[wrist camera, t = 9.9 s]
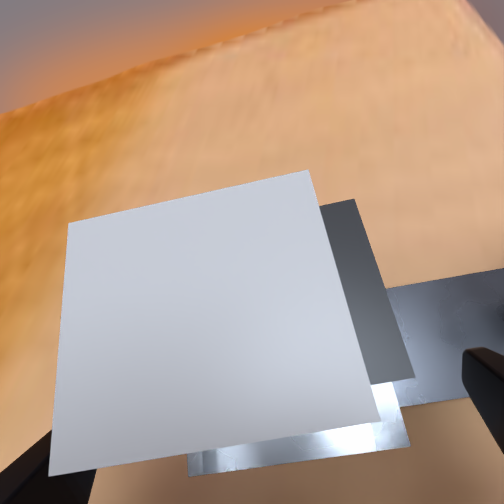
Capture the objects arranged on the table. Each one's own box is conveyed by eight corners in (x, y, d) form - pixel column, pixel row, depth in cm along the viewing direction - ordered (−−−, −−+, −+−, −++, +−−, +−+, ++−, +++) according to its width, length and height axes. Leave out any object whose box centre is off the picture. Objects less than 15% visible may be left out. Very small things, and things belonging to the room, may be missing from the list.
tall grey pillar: (331, 388, 14) (444, 410, 3) (245, 403, 15) (48, 475, 3) (315, 323, 16) (352, 159, 4) (236, 338, 16) (68, 223, 4)
